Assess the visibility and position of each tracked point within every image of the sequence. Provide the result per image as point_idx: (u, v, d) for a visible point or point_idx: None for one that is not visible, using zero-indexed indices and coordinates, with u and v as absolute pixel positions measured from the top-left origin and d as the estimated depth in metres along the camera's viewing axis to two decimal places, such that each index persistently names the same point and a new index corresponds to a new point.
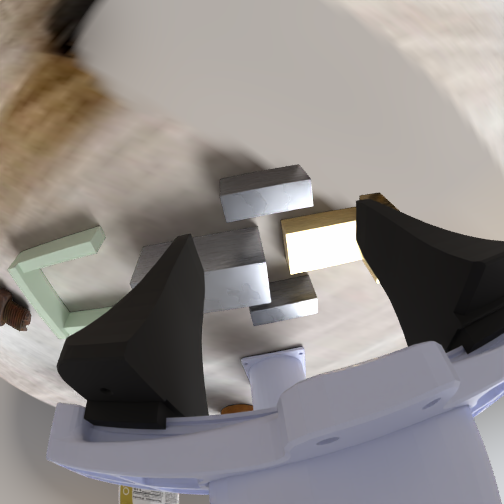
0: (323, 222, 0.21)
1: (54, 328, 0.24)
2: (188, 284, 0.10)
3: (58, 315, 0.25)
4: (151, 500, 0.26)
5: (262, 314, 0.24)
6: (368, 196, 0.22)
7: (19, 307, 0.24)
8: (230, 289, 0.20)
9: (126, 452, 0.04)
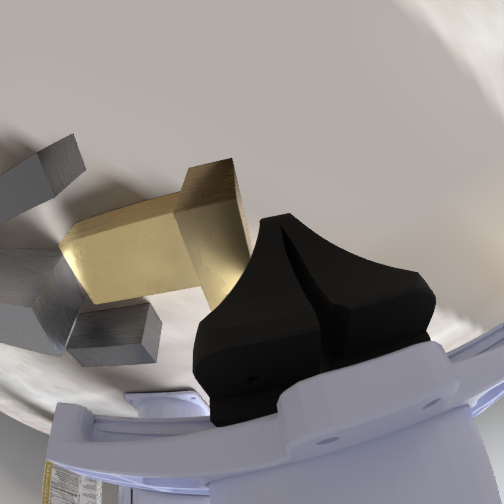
0: (112, 222, 0.11)
1: None
2: None
3: None
4: None
5: (82, 354, 0.14)
6: (202, 167, 0.12)
7: None
8: (11, 326, 0.11)
9: (126, 452, 0.04)
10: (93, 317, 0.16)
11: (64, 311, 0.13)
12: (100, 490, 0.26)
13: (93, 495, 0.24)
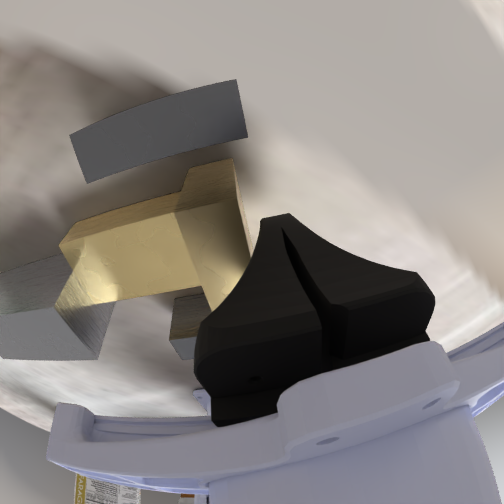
0: (113, 222, 0.11)
1: None
2: None
3: None
4: None
5: (190, 345, 0.14)
6: (202, 167, 0.12)
7: None
8: (41, 337, 0.11)
9: (126, 452, 0.04)
10: (198, 300, 0.16)
11: (95, 310, 0.13)
12: (139, 498, 0.26)
13: None
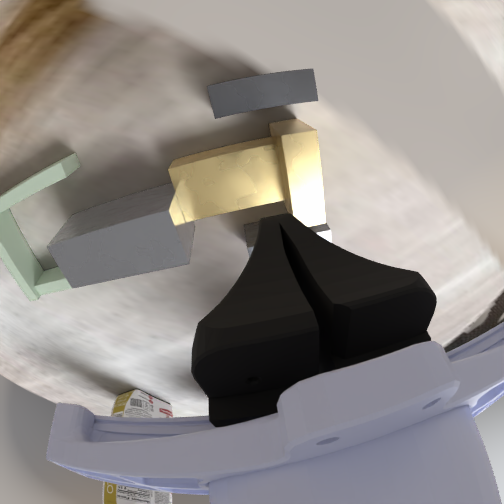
0: (216, 153, 0.17)
1: (24, 286, 0.20)
2: None
3: (29, 271, 0.20)
4: (137, 500, 0.22)
5: None
6: (279, 122, 0.17)
7: None
8: (138, 247, 0.17)
9: (126, 452, 0.04)
10: None
11: (186, 227, 0.19)
12: None
13: None
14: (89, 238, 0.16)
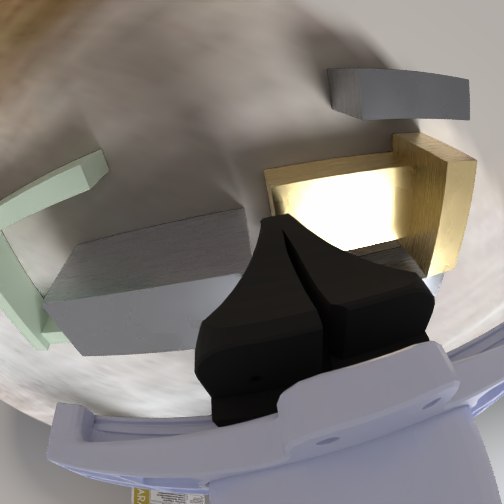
0: (338, 169, 0.12)
1: (27, 334, 0.14)
2: None
3: (32, 313, 0.15)
4: None
5: None
6: (406, 135, 0.12)
7: None
8: (193, 318, 0.11)
9: (126, 452, 0.04)
10: None
11: None
12: (204, 501, 0.26)
13: None
14: (110, 302, 0.10)
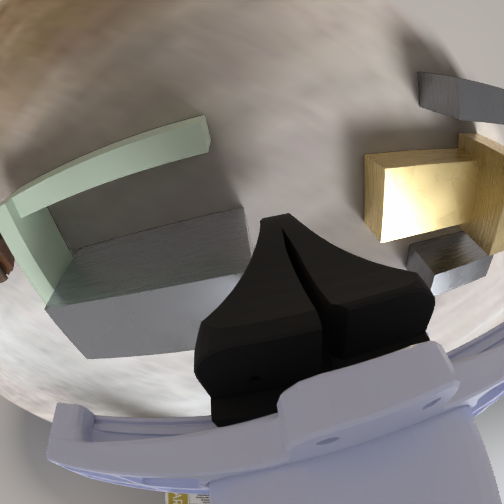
0: (429, 159, 0.11)
1: None
2: None
3: None
4: None
5: (444, 279, 0.14)
6: (469, 135, 0.12)
7: None
8: (194, 319, 0.11)
9: (126, 452, 0.04)
10: (431, 244, 0.16)
11: None
12: None
13: None
14: (112, 305, 0.10)
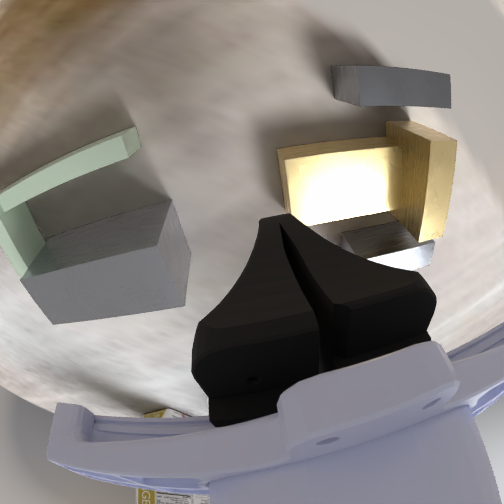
0: (340, 148, 0.14)
1: None
2: None
3: None
4: None
5: None
6: (398, 122, 0.14)
7: None
8: (123, 286, 0.13)
9: (126, 452, 0.04)
10: (364, 232, 0.18)
11: (180, 259, 0.16)
12: None
13: None
14: (65, 274, 0.13)
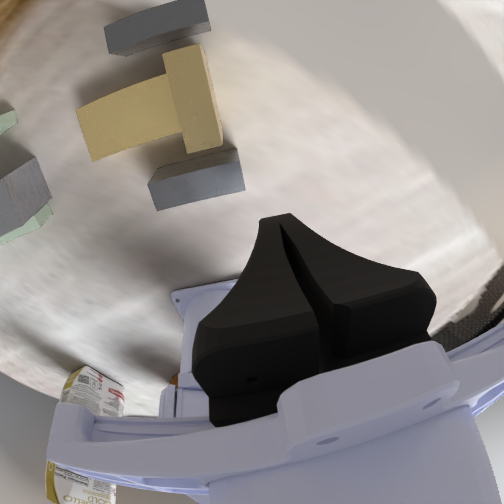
0: None
1: None
2: None
3: None
4: (74, 480, 0.19)
5: (164, 189, 0.17)
6: None
7: None
8: None
9: (126, 452, 0.04)
10: (175, 165, 0.19)
11: (31, 195, 0.16)
12: None
13: None
14: None
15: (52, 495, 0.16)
